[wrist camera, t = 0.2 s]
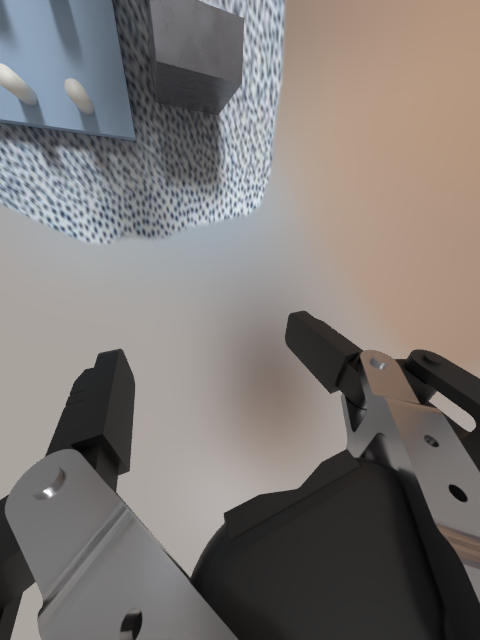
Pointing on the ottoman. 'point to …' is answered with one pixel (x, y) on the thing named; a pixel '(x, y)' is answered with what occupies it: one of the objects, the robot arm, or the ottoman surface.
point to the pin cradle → (63, 67)
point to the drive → (194, 54)
